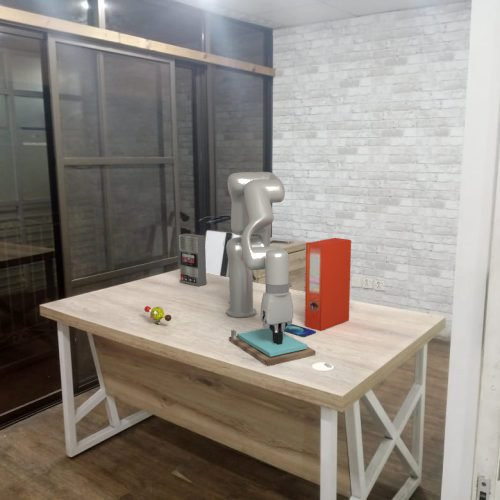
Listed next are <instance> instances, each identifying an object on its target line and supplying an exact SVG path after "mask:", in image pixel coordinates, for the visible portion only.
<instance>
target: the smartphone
mask: <svg viewBox="0 0 500 500" xmlns="http://www.w3.org/2000/svg"><path fill="white" fill-rule="evenodd" d="M283 333H288V334H291V335H294V336H297V337H300V338H306V337H309V336H312V335H315V334H316V333H317V330H315V329H311V328H308V327H304V326H300V325H297V324H294V323H291V324H289V325H287V326H286V328H285V330H284V332H283Z"/></svg>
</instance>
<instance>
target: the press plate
mask: <svg viewBox="0 0 500 500" xmlns="http://www.w3.org/2000/svg"><path fill="white" fill-rule="evenodd" d="M236 336H238V338H239V339H241V340H243V341H245V342H246V343H248V344H250V345H251V346H253V347H255V348H256V349H258V350H260V351H261V352H263V353H265V354H266V355H268V356H270V357H271V356H276V355H280V354H285V353H289V352H294V351H298V350H303V349H307V347H308V344H306V343H304V342H302V341H300V340H298V339H296V338H294V337H292V336H291V335H288V334H286V333H285V332H283V340H282V344H279V345H277V344H275V343H274V342H273V331H271V330H270V329H267V328H264V327H262V328H258V329H253V330H248V331H243V332H238V333H236Z"/></svg>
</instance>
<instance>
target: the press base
mask: <svg viewBox="0 0 500 500" xmlns="http://www.w3.org/2000/svg"><path fill="white" fill-rule="evenodd" d="M228 339H229V342H230V343H231V344H233V345H235V346H236V347H237V348H239V349H240V350H242V351H244V352H245V353H247V354H248V355H250V356H251V357H252V358H254V359H255V360H257V361H259V362H260V361H261V362H260V363H262V364H263V365H264V366H266V365H267V366H266V367H270V365H271V366H276V365H279V364H283V363H287V362H291V361H295V360H300V359H304V358H310V357H313V356H316V350H315V349H313V348H312V347H309V346H307V349H303V350H298V351H294V352H289V353H285V354H280V355H276V356H271V357H270V356H268V355H266V354H265V353H263V352H261V351H260V350H258V349H256V348H255V347H253V346H251V345H250V344H248V343H246V342H245V341H243V340H241V339H239V338H238V336H237V330H235V329H231V330H230V336H229V337H228Z"/></svg>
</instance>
